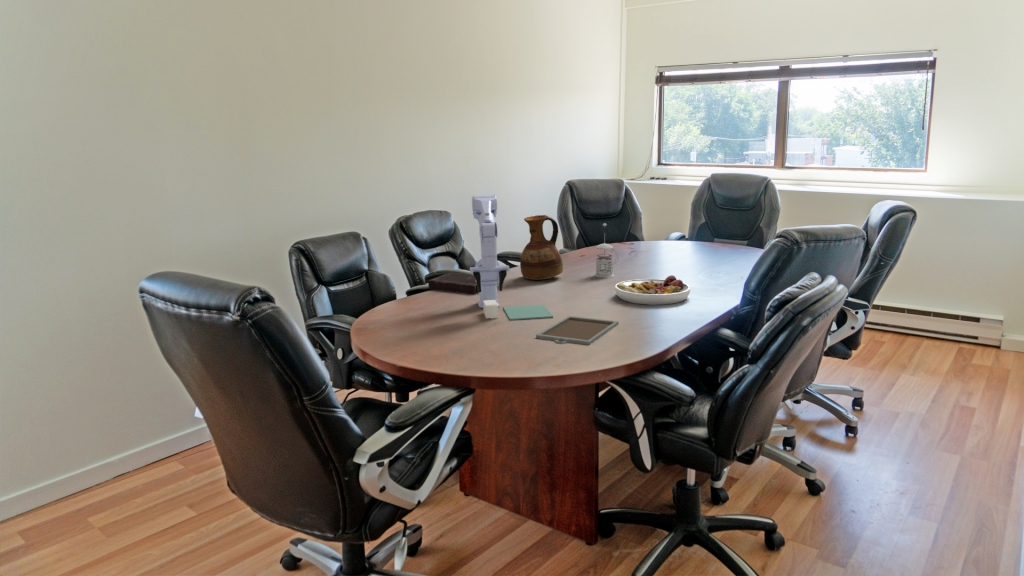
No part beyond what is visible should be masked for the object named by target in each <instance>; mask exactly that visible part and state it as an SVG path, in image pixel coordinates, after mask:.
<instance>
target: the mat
mask: <svg viewBox="0 0 1024 576" xmlns="http://www.w3.org/2000/svg"><path fill="white" fill-rule="evenodd" d="M503 311H504V312H505V313H506V315H507V317H508V319H509V320H510V321H522V320H537V319H538V320H539V319H554V315H553V314H552V313H551V311H550V310H548V308H547V307H546V306H545V304H537V305H534V304H533V305H517V306H504V307H503Z"/></svg>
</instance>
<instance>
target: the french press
mask: <svg viewBox="0 0 1024 576" xmlns="http://www.w3.org/2000/svg"><path fill="white" fill-rule="evenodd" d="M602 226H603V227H606V226H608V225H607V223H605V222H604V223H603V224H602ZM605 237H606V234H604V241H603V243H600V244H598V245H596V246H595V249H597V250H604V253H601V254H596V257H597V258H596V259H595V261H596V262H595V264H596V268H595V269H596V270H595V271H596V272H595V274H594V275H593V276H594V277H597V278H604V279H605V278H606V279H607V278H613V277H615V276H616V275H615V274H614V270H613V269H614V268H613V267H614V265H615V264H616V263H617V262H618V260H619V254H618V252H617V250H616V249H613V248H614V246H612V245H611V244H609V243H606V238H605ZM606 250H610V251H611V253H613V252H614V253H615V260H614V257H613V255H612V254H609V253H608V254H607V253H606ZM612 257H613V258H612ZM613 260H614V261H613Z"/></svg>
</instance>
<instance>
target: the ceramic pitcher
mask: <svg viewBox="0 0 1024 576" xmlns="http://www.w3.org/2000/svg"><path fill="white" fill-rule="evenodd" d="M523 220H524V221H525V222H526V224H528V227H529V228H528V229H529V230H528V231H529V234H530V237H529V242H528V243H527V244H526V245H525V247H524V248H523V250H522V252H521V255H520V262H519V265H520V268H519V269H520V272H521V275H522V277H524V278H525V279H528V280H534V281H535V280H537V281H538V280H547V279H550V278H555V277H557V276H559V275H560V274H562V273H563V272H564V263H563V257H562V255H561V253H560V250H558V248H557V246H556V245H557V244H556V243H557V240H558V235H559V226H558V223H557V221H556V220H555V219H554V218H553V217H551V216H549V215H546V214H543V215H541V214H540V215H539V214H536V215H535V216H532V215H531V216H527V217H525V218H524V219H523ZM545 221H550V222H551V225H552V234H551V237H550V240H549V239H547V238H546V237H545V234H544V223H545Z"/></svg>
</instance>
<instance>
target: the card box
mask: <svg viewBox="0 0 1024 576" xmlns="http://www.w3.org/2000/svg"><path fill="white" fill-rule="evenodd" d="M497 302H498V301H497ZM497 302H496V301H495V300H484V301H483V306H484V307H483V315H484V316H485V317H484V318H485V319H486V320H487V318H491V319H499V307H498V304H497Z"/></svg>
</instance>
